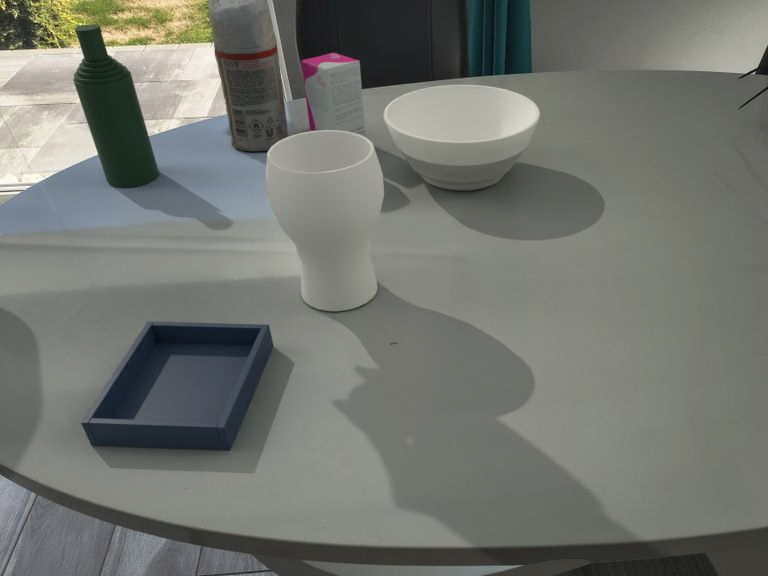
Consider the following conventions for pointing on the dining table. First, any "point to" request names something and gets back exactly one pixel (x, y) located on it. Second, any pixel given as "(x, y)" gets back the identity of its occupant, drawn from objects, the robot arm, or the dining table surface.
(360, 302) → the cup
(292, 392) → the dining table surface
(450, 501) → the dining table surface
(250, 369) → the tray
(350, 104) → the supplement box
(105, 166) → the sauce bottle
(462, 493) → the dining table surface
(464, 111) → the bowl
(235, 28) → the spray can
